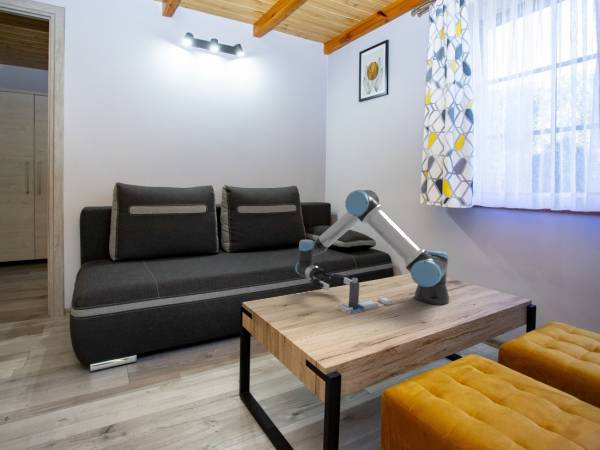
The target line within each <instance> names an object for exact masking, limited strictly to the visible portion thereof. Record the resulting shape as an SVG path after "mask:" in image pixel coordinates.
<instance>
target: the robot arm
mask: <svg viewBox="0 0 600 450" xmlns="http://www.w3.org/2000/svg"><path fill="white" fill-rule="evenodd" d="M344 203H345V210H346V211H347V212H345V213H344V214H343V215H342V216H341V217H340V218H339V219H337V220H336V221H335V222H334V223H333V224H332V225H331V226H330V227H329V228H327V229H326V230H325V231H324V232H323V233H322V234H321V235H319V237H318V238H316V239H315V240H312V239H301V240H300V241H299V246H298V262H297V263H296V264H295V267H294V270H295V273H297V274H298V276H300V277H303V278H305V279H307V280H308V281H309V282H310V284H311V287H313V288H314V287H316V289H320V288H321V289H323V290H325V291H327V292H328V291H330V284H329V283H327V282H337V283H338V282H339V283H343V284H345V285H347V286H349V287H350V282H352V279H350V276H349V275H343V274H338V273H334V272H331V273H327V272H326V271H325V270H324V269H323V268H321V267H319V266H317V265H314V257H315V256H318V255H322V254H324V253H325V252H327V250H328V248H329V247H331V246H332V245H333V244H334V243H335V242H337V240H338V239H340V238H341V237H342V236H344V234H346V233H347V232H348V231H349V230H350V229H352V228H353V227H354V226H355V225H356V224H358V223H359V222H361V223H362V224H368V225H369V226H370V228H371V229H373V231H374V232H376V234H377V235H378V236H379V237H380V238H381V239H382V240H383V241H384V242H385V243H386V244H387V245H388V246H389V247H390V249H392V250H393V251H394V252H395V253H396V255H398V256H399V257H400V259H401V260H402V261H403V262H404V268H405V269H407V271H408V272H409V273H410V275H411V276H410V277H411V279H412V281H413V282H414V283H415V284H417V287H416V289H415V292H414V299H415V300H417V301H419V302H421V303H424V304H430V305H439V306H440V305H447V304H448V303H449V302H450V296H449V292H448V288H447V280H448V279H447V276H448V261H449V254H448V253H447V252H444V251H437V250H428V249H425V248H420V247H419V246H418V245H417V244H415V242H414V241H413V240H411V238H410V237H408V236H407V235H406V233H404V231H403V230H402V229H400V227H399V226H398V225H396V223H395V222H394V221H392V219H390V218H389V216H388V215H387V214H385V212H384V211H383V210H382V205H381V204H380V199H379V196H378V194H377V193H376V192H374V191H373V190H370V189H356V190H353V191H352V192H350V193H348V195H347V196H346V198H345V202H344Z"/></svg>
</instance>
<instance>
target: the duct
mask: <svg viewBox="0 0 600 450" xmlns="http://www.w3.org/2000/svg"><path fill="white" fill-rule="evenodd" d="M377 300H378V302H377V301H376V302H375V301H373V300H371V298H366V299H365V298H364V299H359V301H358V309H357V310H354V309H353V308H352V307H351V308H350V307H349V305H347V304H345V303H339V304H338V309H339V310H340V311H341V312H343V313H345V314H354V313H357V312H360V311H363V312H364V311H366V310H367V311H368V310H371V309H375V308H379V302H380V303H382V304H385V305H386V306H389V305H393V299H388V298H386V297H385V296H384V295H381V296H378V299H377Z"/></svg>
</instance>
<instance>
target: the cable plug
mask: <svg viewBox="0 0 600 450" xmlns="http://www.w3.org/2000/svg"><path fill="white" fill-rule="evenodd" d="M351 280H352V282H350V286H349V290H348V291H349V294H348V306H349V307H350V308H351V307H352V308H353V309H354V310H357V309H358V301H359V300H360V299H359V296H360V282H358V281H359V280H358V278H357V277H351Z"/></svg>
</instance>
